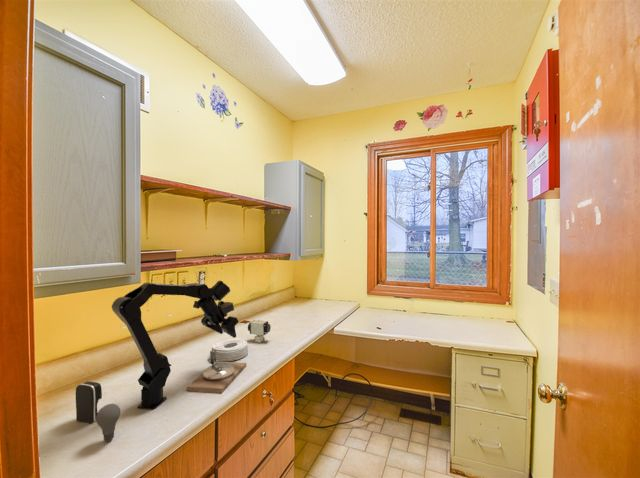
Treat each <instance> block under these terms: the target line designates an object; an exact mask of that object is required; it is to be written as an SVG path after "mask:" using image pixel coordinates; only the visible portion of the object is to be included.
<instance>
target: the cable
mask: <svg viewBox="0 0 640 478" xmlns="http://www.w3.org/2000/svg"><path fill="white" fill-rule="evenodd" d="M213 350H215V351H216V362H233V361H237V360H240V359H242V358H243V359H244V358H245V357H246V356H247V355H248V354H249V345H248V341H247V340H245V339H242V338H232V339H225V340H221V341H218V342H215V343H213V344H212V345H211V351H213ZM207 361H208V363H210V357H207Z"/></svg>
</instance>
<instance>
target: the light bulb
mask: <svg viewBox="0 0 640 478" xmlns="http://www.w3.org/2000/svg"><path fill="white" fill-rule="evenodd" d="M120 416H121V408H120V406H118V405H117V404H115V403H108V404H106V405H103V407H101V408H100V409H99V410H98V411H97V416H96V421H95V422H96V424H97V425H98V426H99V428H100V429H101V431H102V435H103V441H104V442H110V441H112V440H113V438H115V430H116V424H117V422H118V420H119V418H120Z"/></svg>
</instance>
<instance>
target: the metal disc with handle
mask: <svg viewBox="0 0 640 478" xmlns="http://www.w3.org/2000/svg"><path fill="white" fill-rule="evenodd" d="M209 354H210V355H209V358H210V362H209V364H210V366H208V367H206V368H205V369H204V370H203V372H202V374H203V377H204V379H206V380H209V381H217V380H222V379H225V378H228V377H230V376H231V375H233V373H234V366H233V365H232V364H228V363H221V364H216V361H217V360H216V351H215V350H213V351H212V350H210V352H209Z"/></svg>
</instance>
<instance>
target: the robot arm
mask: <svg viewBox="0 0 640 478" xmlns="http://www.w3.org/2000/svg"><path fill="white" fill-rule="evenodd" d="M229 293H231V289H230V287H229V286H228V285H227V283H224V282H223V281H222V280H218V281H216V282H215V284H214V285H212V286H211V287H208V285H207V284H205V283H199V282H198V283H197V282H191V283H185V284H170V283H169V284H167V283H153V282H144V283H142V284H141V285H140V286H138V287H136V288H134V289H133V290H131V291H129V292H128V293H126V294H125V295H124V296H120V297H117V298H116V299H114V301H113V302H112V304H111V309H112V311H113V313H114V314H115V315H116V316H117V318H119V320H121V322H122V323H123V324H125V326H126V327H127V330H128V332H129V333H130V335H131V338H132V339H133V341H134V343H135V346H136V347H137V349H138V351H139V353H140V356H141V357H142V358H143V369H144V372H143V373H142V374H141V375H140V376H139V378H138V379H137V382H138V385H139V386H141V387H142V389H141V390H140V391H141V392H140V394H141V397H140V398H141V403H140V404H138V405H137V409H145V410H146V409H147V410H155V409H157V407H159V406H160V405H162V403H163V402H165V401H167V396H164V387H165V386H166V383H167V380H168V377H169V376H170V373H171V370H172V369H171V366H172V364H170V363H169V358H168V356H167V355H165V354H163V353H161V352H157V351H158V350H157V349H156V347H155V345H154V343H153V341H152V339H151V337H150V334H149V333H148V331H147V329H146V327H145V325H144V323H143V320H142V310H141V307H142V306H144V305H145V304H146V303H147V302H148V301H149V300H150V298H151V297H152V296H153V295H157V296H158V295H160V296H164V295H166V296H186V297H189V298H194V299H198V300H194V301H193V302H194V304H193V308H195V309H198V310H199V309H201V310H202V312H203V313H204V314H203V317H202V318H201V321H200V323H201V325H203V326H205V328H209V329H210V330H212V331H214V332H216V333H219V334H220V335H222V334H223V333H225V334H227V335H228V336H230V337H232V339H236V337H237V333H236V325H237V324H239V322H240V321H239V319H238V317H236V316H231V315H230V316H228V314H229V313H230V312H233V311H235V308H234V303H233V302H231V301H230V302H229V301H224V300H223V299H224V298H225V297H226V296H227V295H228V294H229ZM217 301H218V302H217ZM227 316H228V317H227ZM226 317H227V318H226Z"/></svg>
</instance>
